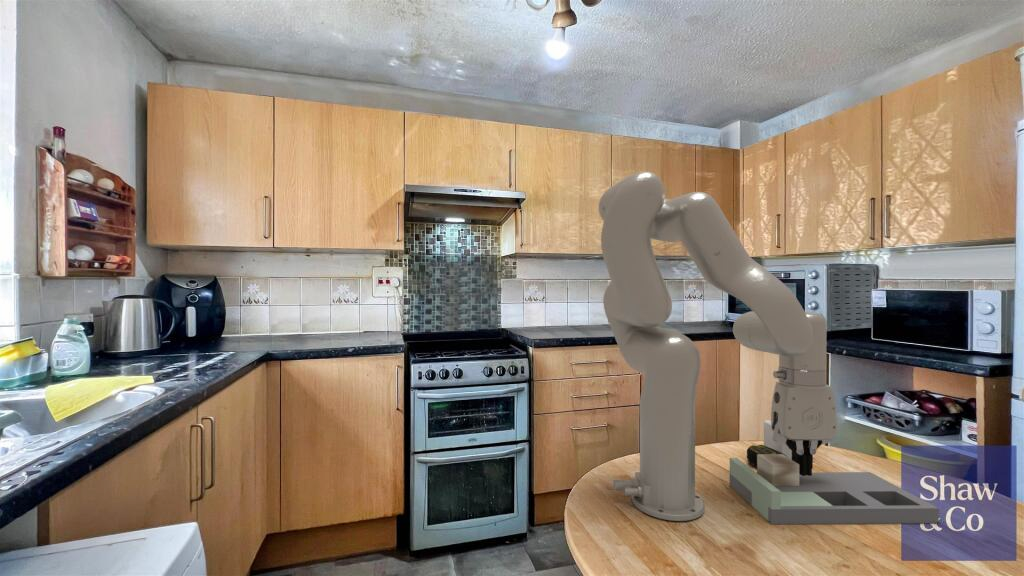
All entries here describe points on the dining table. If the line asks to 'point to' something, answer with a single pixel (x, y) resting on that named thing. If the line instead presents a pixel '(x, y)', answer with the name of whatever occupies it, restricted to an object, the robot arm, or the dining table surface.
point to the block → (778, 469)
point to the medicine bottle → (773, 444)
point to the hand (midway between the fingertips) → (802, 472)
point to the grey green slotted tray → (830, 499)
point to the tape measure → (759, 452)
